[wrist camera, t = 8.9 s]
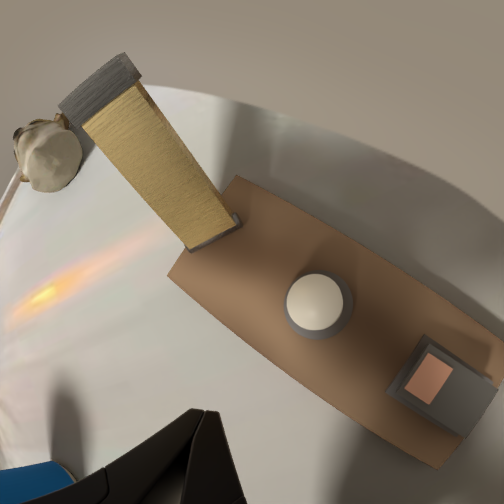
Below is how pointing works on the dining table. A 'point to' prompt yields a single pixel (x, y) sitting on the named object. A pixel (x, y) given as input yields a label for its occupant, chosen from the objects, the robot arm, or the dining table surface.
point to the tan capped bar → (149, 153)
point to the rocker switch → (447, 390)
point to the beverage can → (32, 481)
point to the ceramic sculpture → (47, 153)
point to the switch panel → (348, 324)
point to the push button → (314, 302)
